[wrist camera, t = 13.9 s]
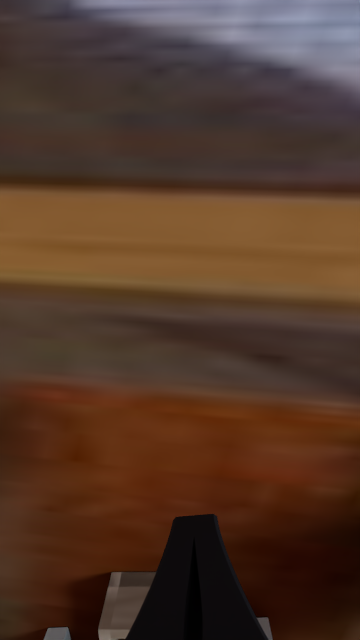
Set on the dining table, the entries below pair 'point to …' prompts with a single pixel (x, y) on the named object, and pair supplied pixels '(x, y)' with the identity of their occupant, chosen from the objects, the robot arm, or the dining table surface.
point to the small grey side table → (60, 636)
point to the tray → (123, 603)
